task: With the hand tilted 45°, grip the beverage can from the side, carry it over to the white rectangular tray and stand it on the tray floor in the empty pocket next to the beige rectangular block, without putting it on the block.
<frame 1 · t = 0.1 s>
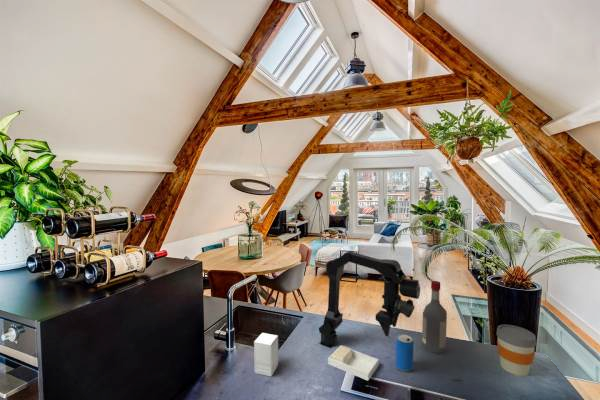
hand: (390, 331, 113), 15 cm above the counter, tool pointing down, fingers open, 9 cm apart
reusable coffee cup: (514, 369, 113), on the counter
beverage can: (404, 367, 114), on the counter
beige rectangular block: (342, 360, 117), resting on white rectangular tray
white rectangular tray: (353, 365, 114), on the counter
liquor: (433, 348, 127), on the counter
supplement box: (266, 369, 112), on the counter
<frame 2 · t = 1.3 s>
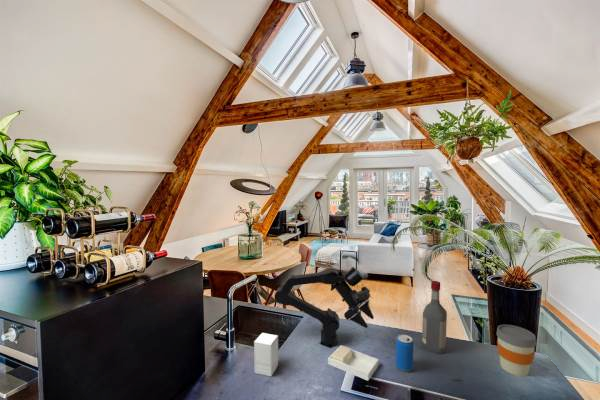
hand: (370, 322, 122), 13 cm above the counter, tool tilted 45°, fingers open, 9 cm apart
nothing on the counter moved.
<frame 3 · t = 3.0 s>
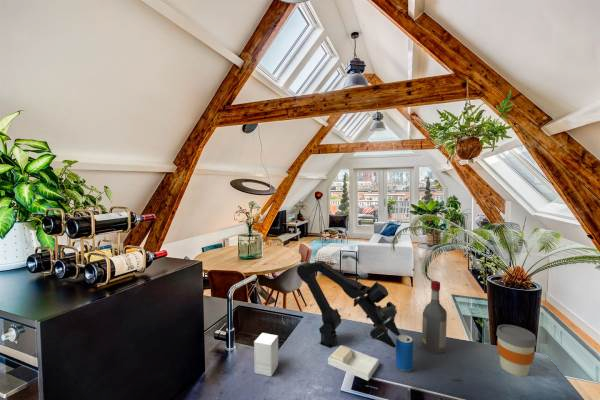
hand: (397, 341, 114), 10 cm above the counter, tool tilted 45°, fingers open, 9 cm apart
nothing on the counter moved.
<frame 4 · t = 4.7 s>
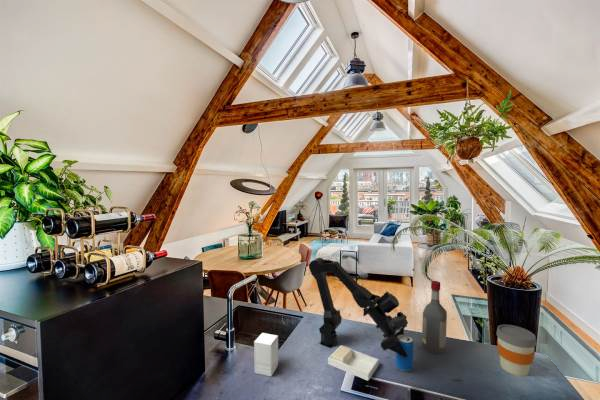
hand: (408, 352, 112), 7 cm above the counter, tool tilted 45°, fingers closed on beverage can, 6 cm apart
beverage can: (404, 367, 114), on the counter, touching gripper
everything else where it was.
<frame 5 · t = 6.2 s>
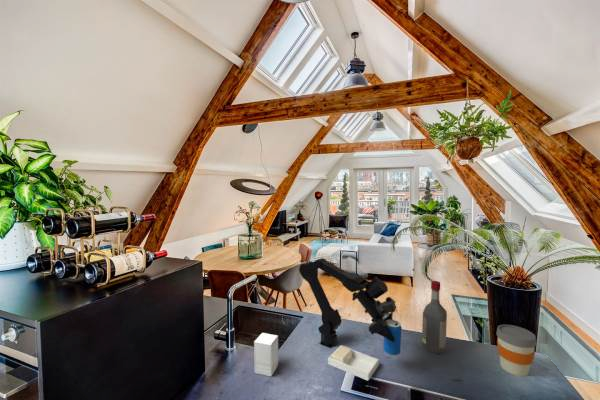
hand: (395, 337, 112), 13 cm above the counter, tool tilted 45°, fingers closed on beverage can, 6 cm apart
beverage can: (391, 352, 113), point 6 cm above the counter, touching gripper
everything else where it was.
when the fingers open (9 cm above the counter, at t = 8.2 s): beverage can drops 2 cm, resting on white rectangular tray.
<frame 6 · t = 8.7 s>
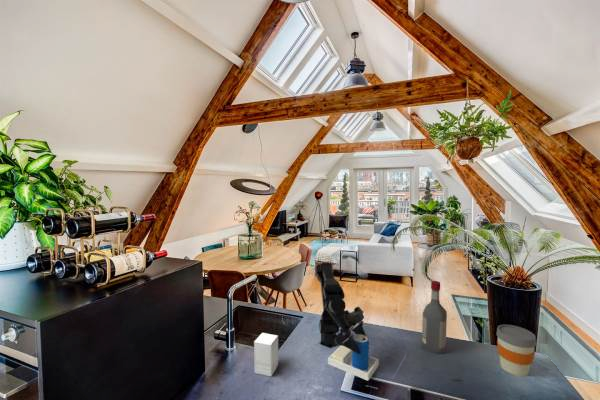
hand: (363, 347, 111), 9 cm above the counter, tool tilted 45°, fingers open, 9 cm apart
beverage can: (360, 367, 113), resting on white rectangular tray
everything else where it was.
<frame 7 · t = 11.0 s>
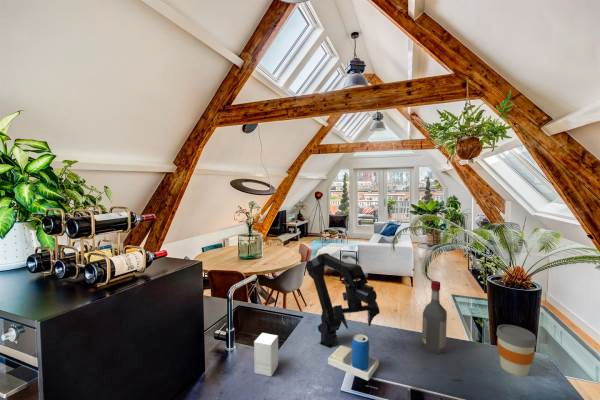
hand: (358, 327, 121), 12 cm above the counter, tool pointing down, fingers open, 9 cm apart
nothing on the counter moved.
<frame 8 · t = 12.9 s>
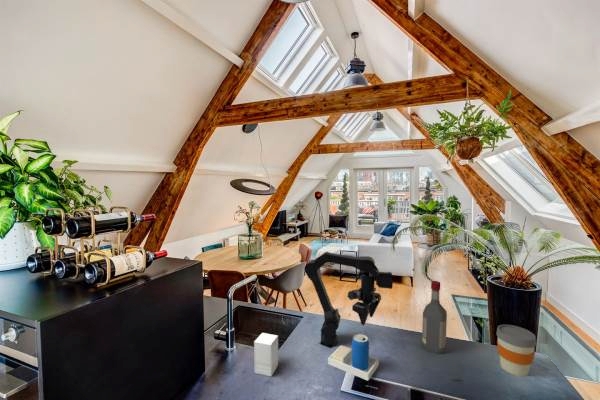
hand: (367, 320, 125), 13 cm above the counter, tool pointing down, fingers open, 9 cm apart
nothing on the counter moved.
at the end: beverage can inside the target area on the white rectangular tray (0.1 cm from its centre), point 0.3 cm above the white rectangular tray's base; beverage can tilted 0°; beige rectangular block moved 0.0 cm from its start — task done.
